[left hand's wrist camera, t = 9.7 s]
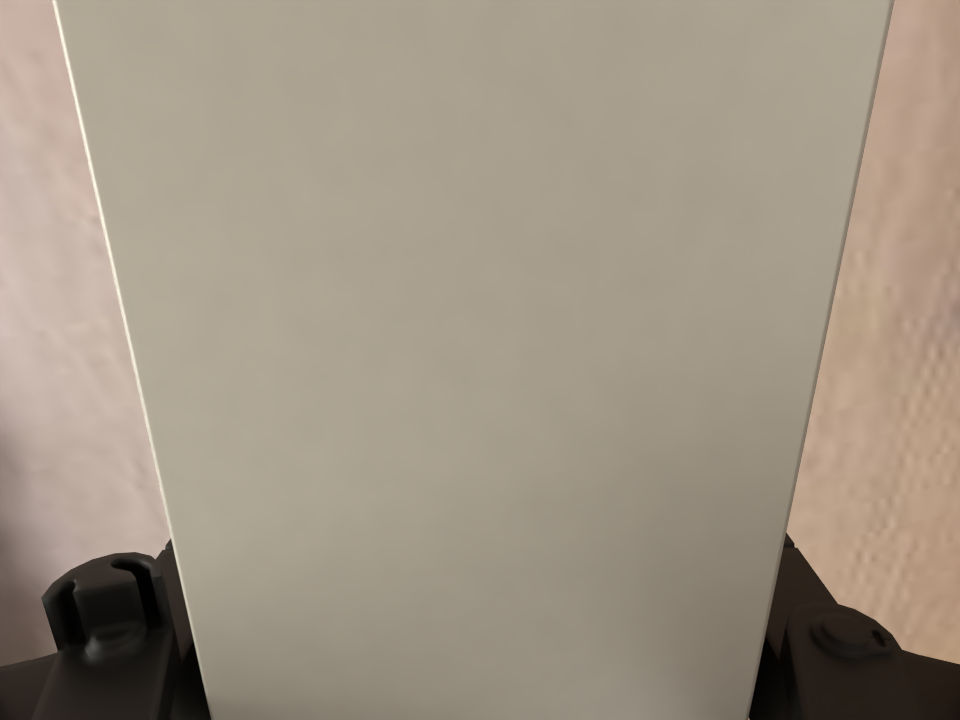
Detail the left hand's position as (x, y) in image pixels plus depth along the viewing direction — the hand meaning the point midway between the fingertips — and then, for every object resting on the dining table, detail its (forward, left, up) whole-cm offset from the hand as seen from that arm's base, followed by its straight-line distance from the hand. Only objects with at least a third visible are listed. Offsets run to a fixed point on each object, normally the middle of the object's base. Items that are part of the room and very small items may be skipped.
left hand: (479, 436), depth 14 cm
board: (+18, +4, -1) cm, 18 cm away
